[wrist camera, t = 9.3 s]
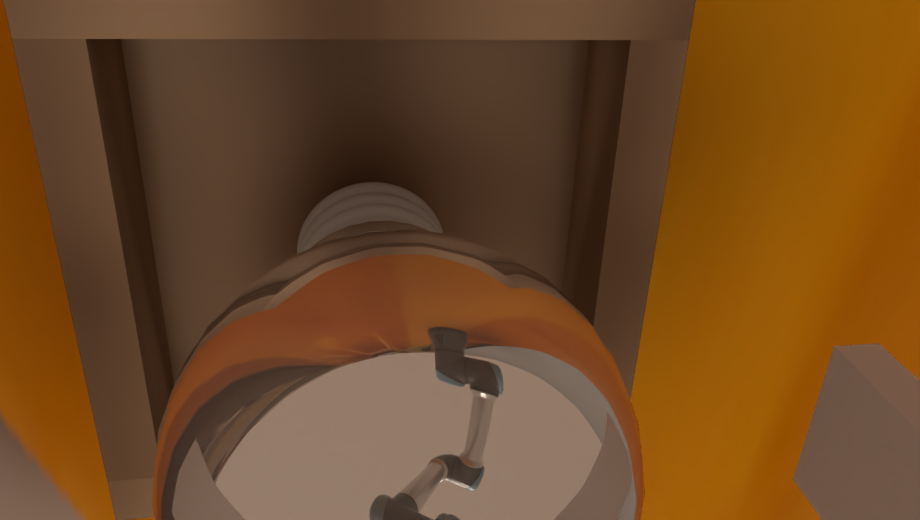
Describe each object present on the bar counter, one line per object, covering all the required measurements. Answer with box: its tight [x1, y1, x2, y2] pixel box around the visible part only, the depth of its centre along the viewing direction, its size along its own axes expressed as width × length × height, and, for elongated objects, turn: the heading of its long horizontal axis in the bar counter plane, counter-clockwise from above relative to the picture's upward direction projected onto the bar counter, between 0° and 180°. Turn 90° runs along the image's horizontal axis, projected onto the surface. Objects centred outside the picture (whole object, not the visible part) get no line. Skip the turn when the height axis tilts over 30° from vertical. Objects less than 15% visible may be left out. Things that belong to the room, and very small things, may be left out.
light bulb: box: [152, 182, 645, 520], centre depth 14 cm, size 7×7×12 cm
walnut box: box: [3, 0, 696, 520], centre depth 19 cm, size 12×12×6 cm
